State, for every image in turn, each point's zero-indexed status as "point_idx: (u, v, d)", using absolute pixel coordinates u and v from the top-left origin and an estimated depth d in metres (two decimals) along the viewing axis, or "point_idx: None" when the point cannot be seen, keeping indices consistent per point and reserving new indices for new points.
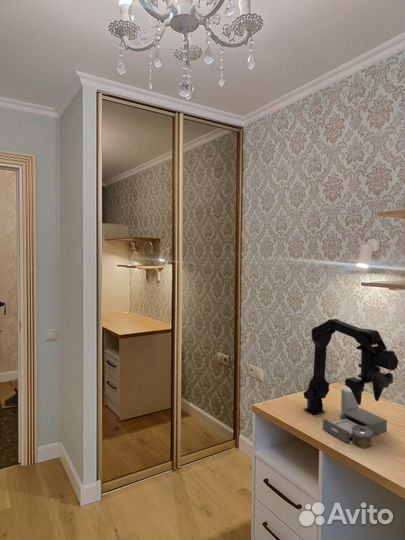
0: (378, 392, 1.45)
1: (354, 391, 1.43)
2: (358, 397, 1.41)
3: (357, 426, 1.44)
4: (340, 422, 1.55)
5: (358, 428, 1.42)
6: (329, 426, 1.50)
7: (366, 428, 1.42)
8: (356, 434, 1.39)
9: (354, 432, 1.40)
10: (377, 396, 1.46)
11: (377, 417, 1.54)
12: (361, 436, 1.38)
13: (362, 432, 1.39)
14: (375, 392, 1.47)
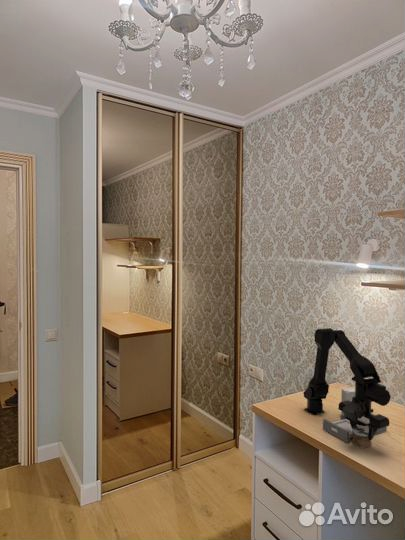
0: None
1: None
2: None
3: (357, 426, 1.44)
4: (340, 422, 1.55)
5: (358, 428, 1.42)
6: (329, 426, 1.50)
7: (366, 428, 1.42)
8: (356, 434, 1.39)
9: (354, 432, 1.40)
10: None
11: None
12: (361, 436, 1.38)
13: (362, 432, 1.39)
14: None
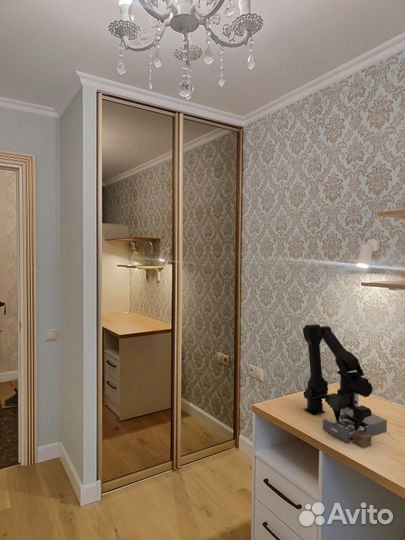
0: None
1: None
2: None
3: (342, 421, 1.53)
4: None
5: (343, 423, 1.51)
6: (329, 426, 1.50)
7: (350, 423, 1.51)
8: None
9: None
10: None
11: (377, 417, 1.54)
12: None
13: (346, 427, 1.48)
14: None
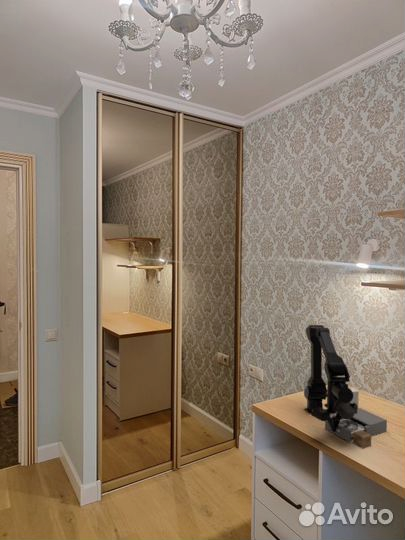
0: None
1: (329, 419, 1.47)
2: (333, 425, 1.46)
3: (344, 420, 1.53)
4: None
5: (345, 422, 1.52)
6: None
7: (352, 422, 1.52)
8: None
9: None
10: None
11: (377, 417, 1.54)
12: None
13: (348, 426, 1.49)
14: None
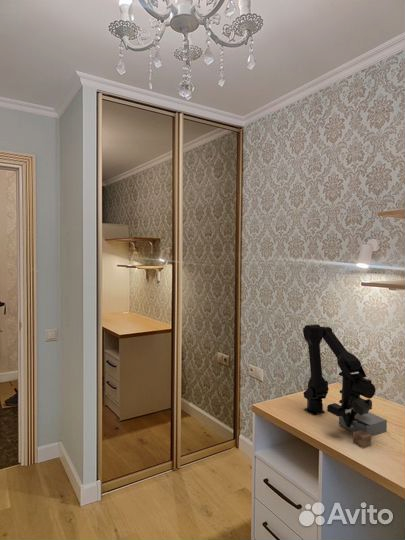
0: None
1: (344, 414, 1.51)
2: (347, 420, 1.50)
3: None
4: None
5: None
6: None
7: None
8: None
9: None
10: None
11: (377, 417, 1.54)
12: None
13: None
14: None
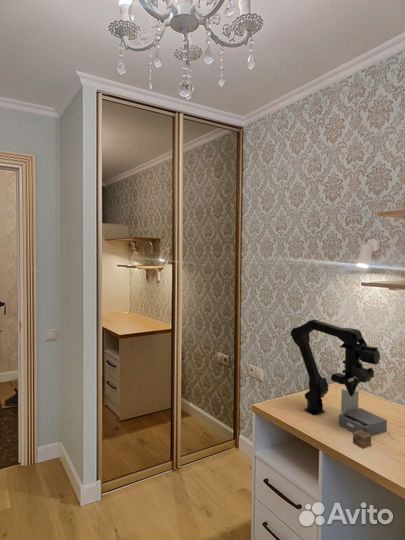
0: (353, 387, 1.57)
1: (346, 384, 1.58)
2: (350, 389, 1.57)
3: None
4: None
5: None
6: (345, 421, 1.54)
7: None
8: None
9: None
10: None
11: (377, 417, 1.54)
12: None
13: None
14: None
